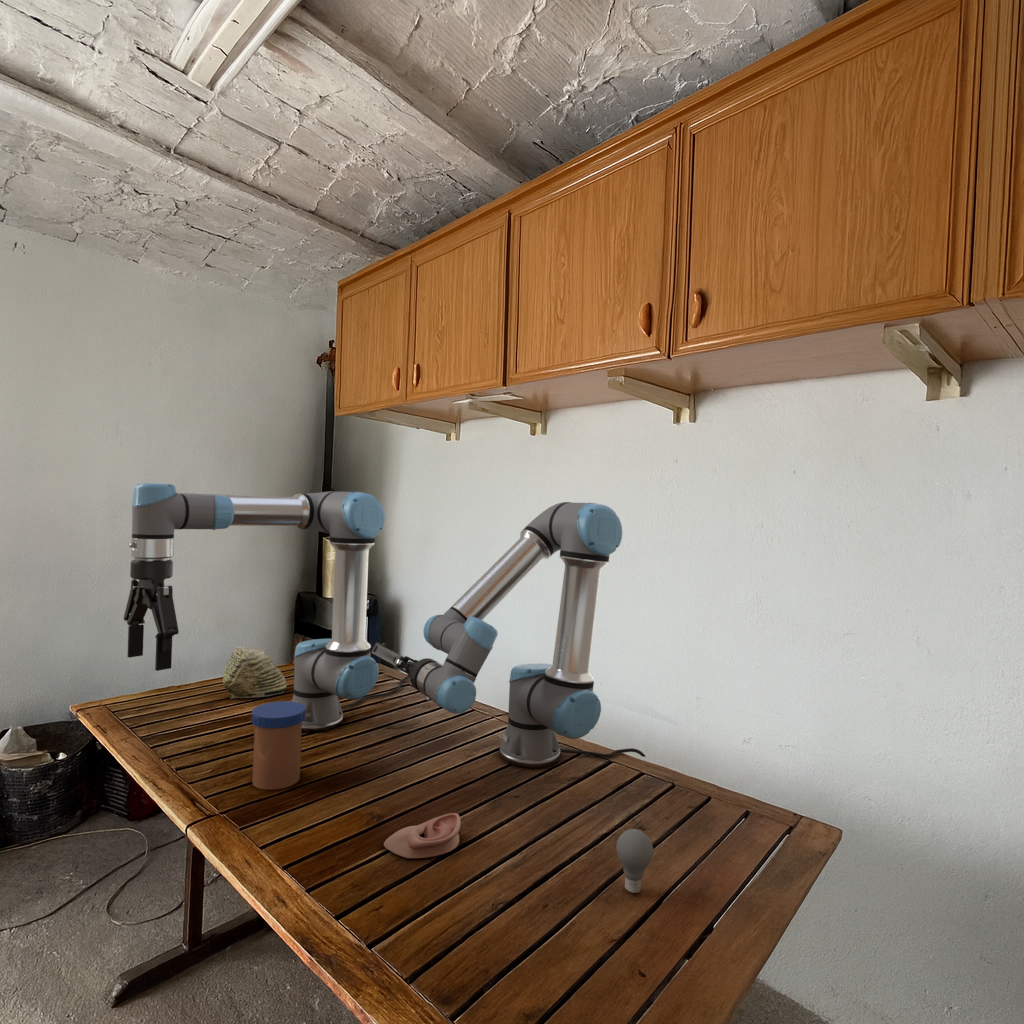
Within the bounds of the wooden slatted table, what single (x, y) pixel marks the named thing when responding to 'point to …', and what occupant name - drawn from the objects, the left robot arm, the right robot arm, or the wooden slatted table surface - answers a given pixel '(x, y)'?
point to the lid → (278, 714)
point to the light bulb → (634, 857)
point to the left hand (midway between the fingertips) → (148, 662)
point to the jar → (276, 757)
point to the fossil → (252, 674)
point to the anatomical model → (426, 838)
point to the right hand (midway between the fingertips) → (397, 657)
